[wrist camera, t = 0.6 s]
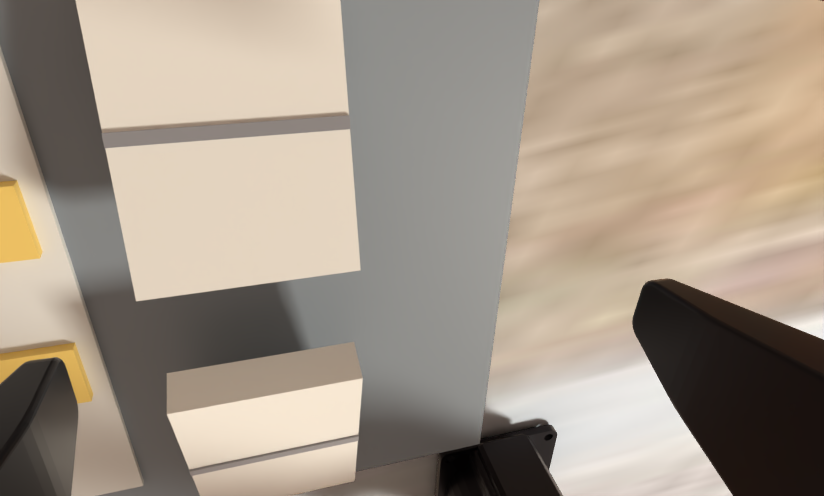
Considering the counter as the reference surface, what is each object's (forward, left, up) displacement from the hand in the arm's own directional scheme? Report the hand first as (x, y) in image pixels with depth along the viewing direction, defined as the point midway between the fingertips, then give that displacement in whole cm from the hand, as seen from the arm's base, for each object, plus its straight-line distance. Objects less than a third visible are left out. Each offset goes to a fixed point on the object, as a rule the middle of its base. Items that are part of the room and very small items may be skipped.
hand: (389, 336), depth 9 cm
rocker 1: (+1, +2, -6) cm, 7 cm away
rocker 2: (-9, +2, -6) cm, 11 cm away
